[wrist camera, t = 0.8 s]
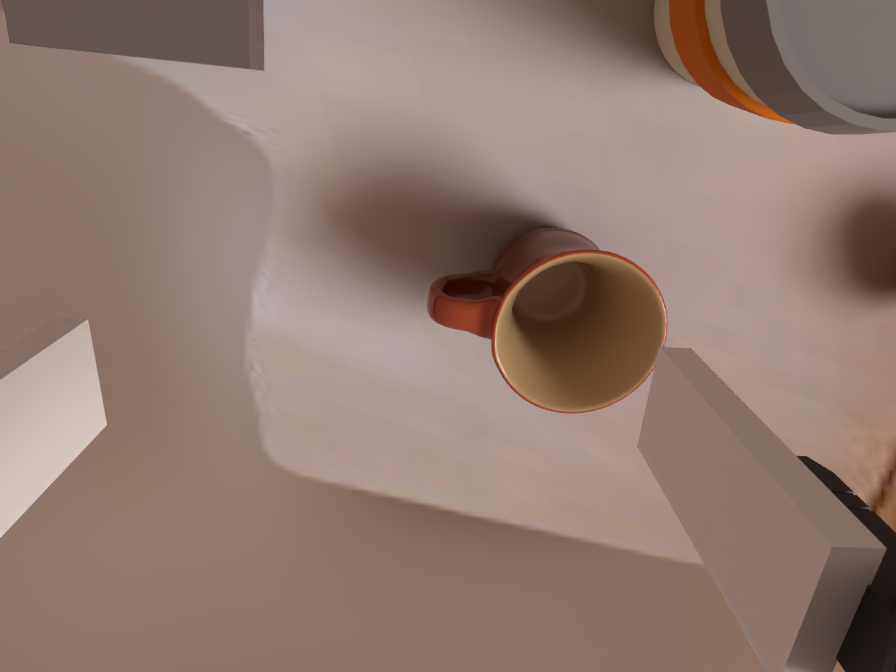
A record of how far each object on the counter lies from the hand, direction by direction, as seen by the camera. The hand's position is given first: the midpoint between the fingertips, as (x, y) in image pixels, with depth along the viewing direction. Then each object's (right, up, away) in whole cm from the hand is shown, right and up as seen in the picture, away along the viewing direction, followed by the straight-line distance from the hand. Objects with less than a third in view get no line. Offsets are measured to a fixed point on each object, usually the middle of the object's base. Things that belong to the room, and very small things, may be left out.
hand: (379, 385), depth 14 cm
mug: (+6, +5, +25) cm, 26 cm away
